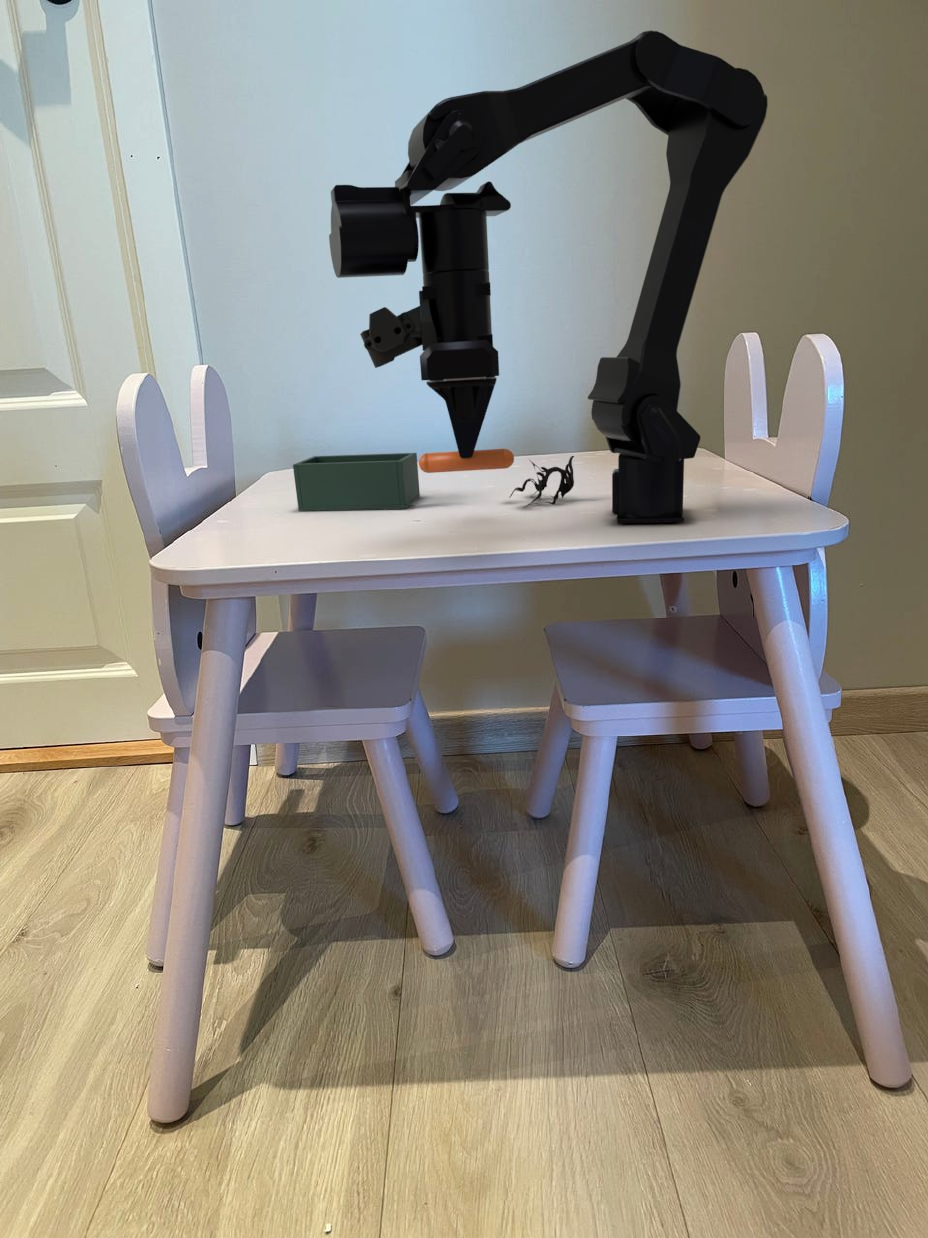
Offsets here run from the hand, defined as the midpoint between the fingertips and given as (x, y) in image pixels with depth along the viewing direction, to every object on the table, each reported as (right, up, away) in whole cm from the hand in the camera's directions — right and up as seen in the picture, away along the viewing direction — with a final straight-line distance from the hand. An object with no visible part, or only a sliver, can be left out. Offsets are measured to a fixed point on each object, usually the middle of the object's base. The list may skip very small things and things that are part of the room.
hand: (466, 456), depth 76 cm
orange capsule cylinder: (0, -1, +1) cm, 1 cm away
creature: (+9, -2, +18) cm, 20 cm away
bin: (-13, -1, +24) cm, 27 cm away
